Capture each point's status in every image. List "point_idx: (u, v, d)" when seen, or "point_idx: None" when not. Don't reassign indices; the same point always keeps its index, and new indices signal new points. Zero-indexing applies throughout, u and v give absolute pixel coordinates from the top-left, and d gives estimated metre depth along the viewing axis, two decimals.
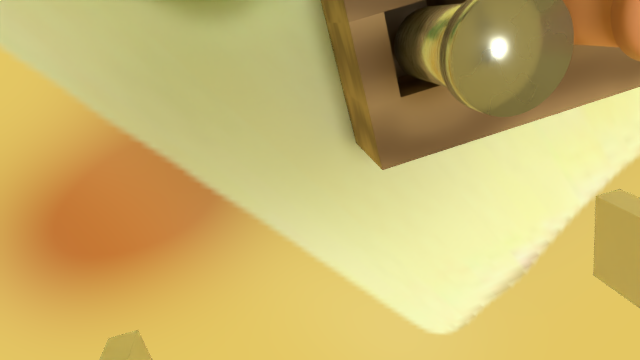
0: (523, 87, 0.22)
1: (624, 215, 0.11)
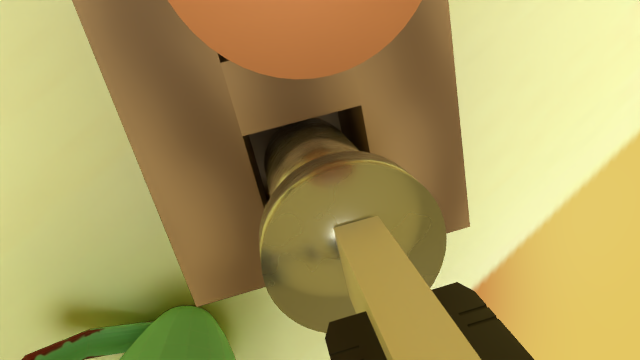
0: (406, 233, 0.14)
1: (364, 240, 0.13)
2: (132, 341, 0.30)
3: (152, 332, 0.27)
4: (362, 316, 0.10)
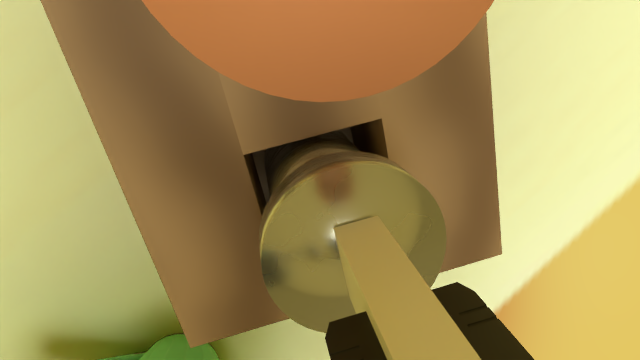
0: (407, 232, 0.14)
1: (364, 240, 0.13)
2: None
3: None
4: (362, 316, 0.10)
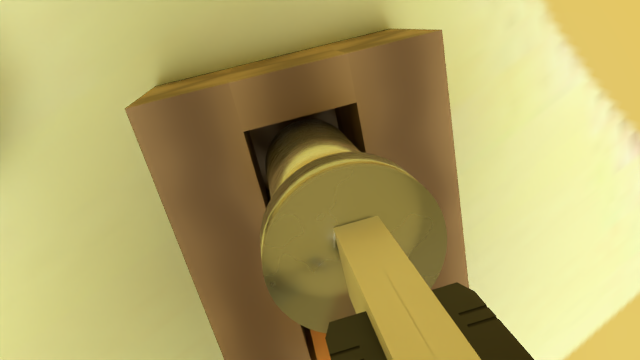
0: None
1: (364, 240, 0.13)
2: None
3: None
4: (362, 316, 0.10)
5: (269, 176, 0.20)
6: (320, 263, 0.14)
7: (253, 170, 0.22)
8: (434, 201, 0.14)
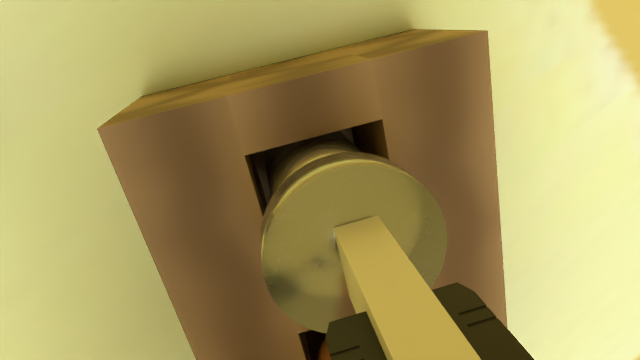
0: None
1: (364, 240, 0.13)
2: None
3: None
4: (362, 316, 0.10)
5: (269, 176, 0.20)
6: (320, 263, 0.14)
7: (256, 201, 0.18)
8: (434, 201, 0.14)
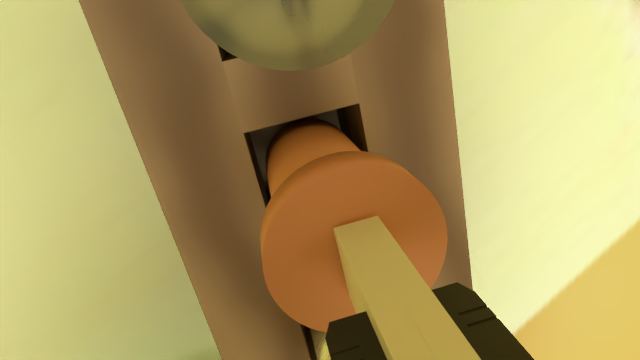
0: None
1: (364, 240, 0.13)
2: None
3: None
4: (362, 316, 0.10)
5: None
6: None
7: None
8: None
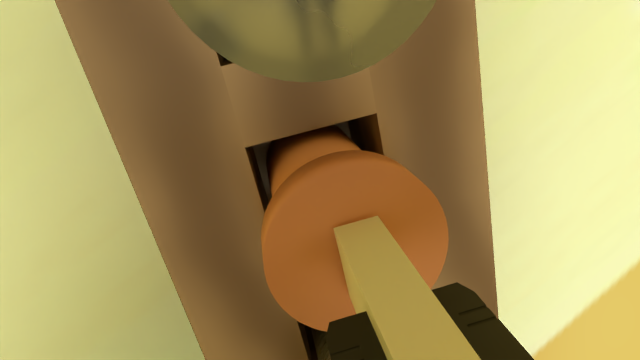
0: None
1: (364, 240, 0.13)
2: None
3: None
4: (362, 316, 0.10)
5: None
6: None
7: None
8: None
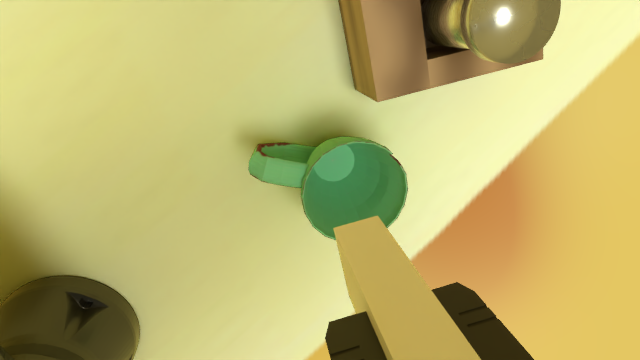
0: (541, 3, 0.28)
1: (364, 240, 0.13)
2: (306, 157, 0.45)
3: None
4: (362, 316, 0.10)
5: None
6: None
7: None
8: None
